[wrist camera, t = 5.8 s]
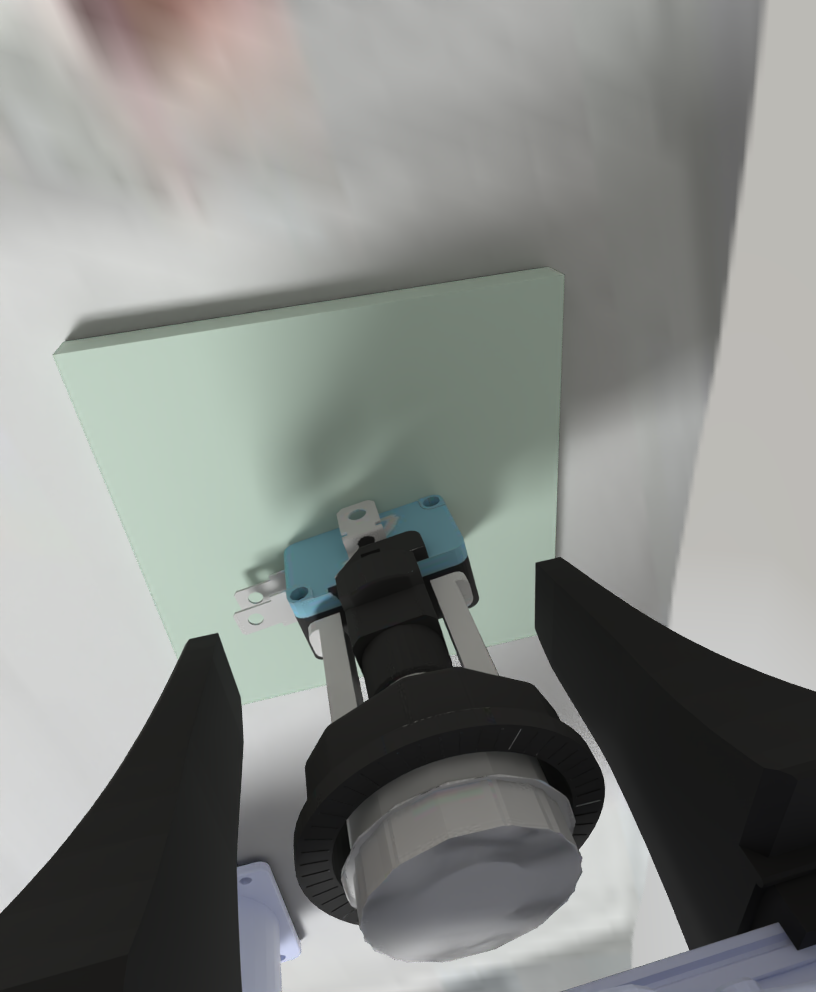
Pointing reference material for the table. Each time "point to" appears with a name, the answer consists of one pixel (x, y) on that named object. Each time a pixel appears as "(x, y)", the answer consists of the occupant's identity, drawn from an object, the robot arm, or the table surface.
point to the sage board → (328, 447)
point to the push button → (424, 746)
